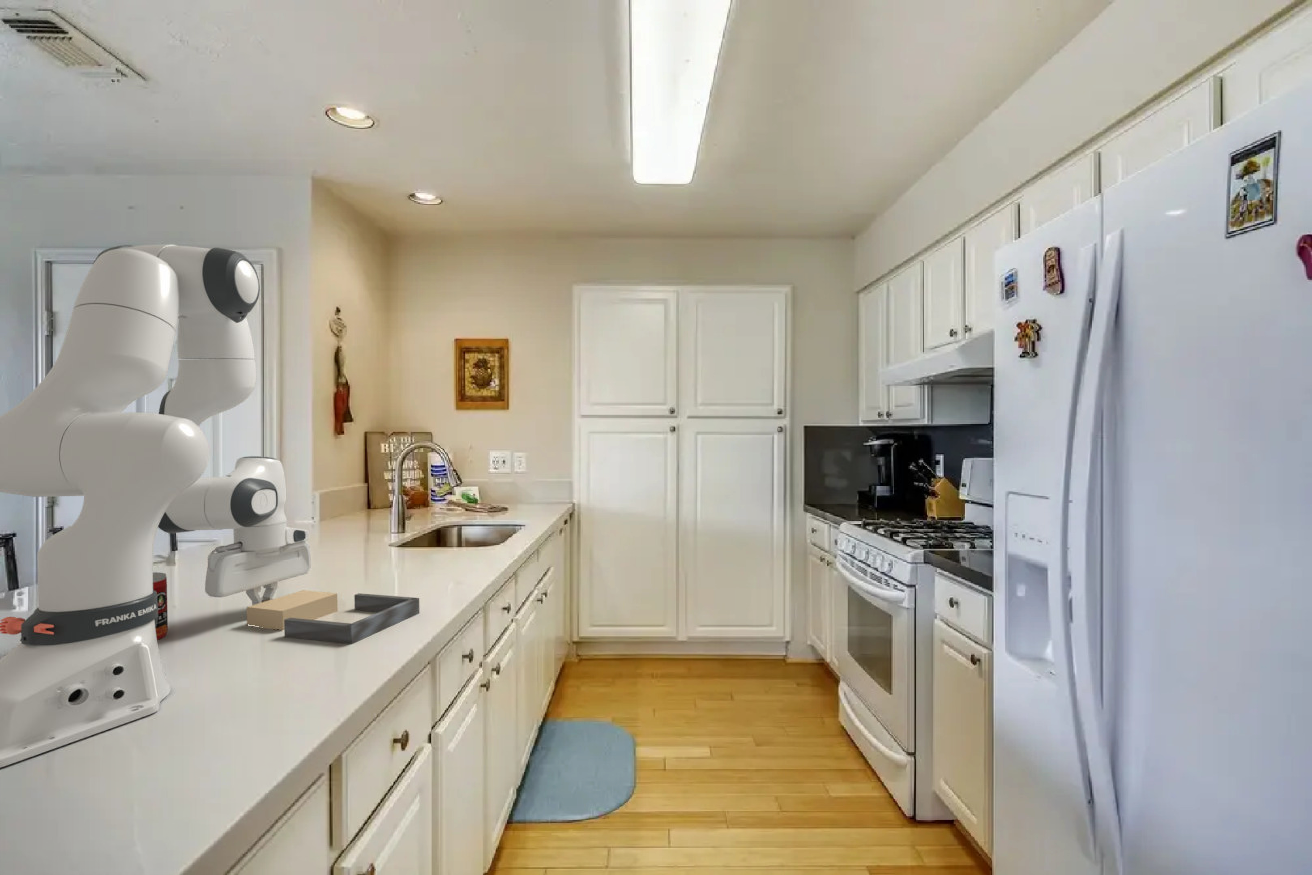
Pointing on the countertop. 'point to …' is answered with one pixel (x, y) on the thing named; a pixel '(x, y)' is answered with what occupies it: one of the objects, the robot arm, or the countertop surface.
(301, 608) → the carton
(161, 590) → the canned food
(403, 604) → the dark grey piece
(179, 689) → the countertop surface
